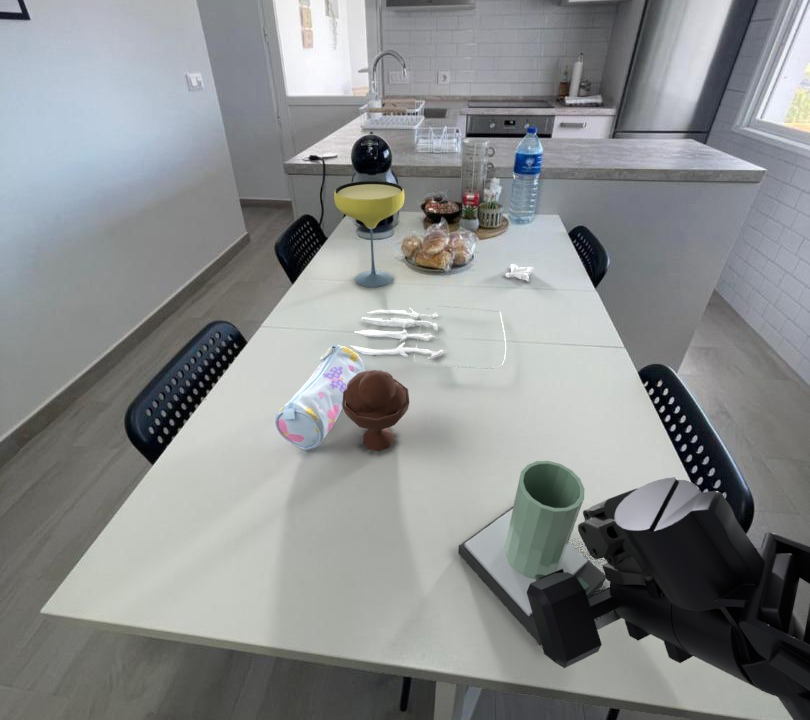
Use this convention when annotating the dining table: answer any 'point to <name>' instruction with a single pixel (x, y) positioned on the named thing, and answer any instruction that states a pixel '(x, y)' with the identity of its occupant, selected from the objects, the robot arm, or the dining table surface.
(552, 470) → the tumbler
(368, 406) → the ice cream bowl
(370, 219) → the cocktail glass
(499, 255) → the dining table surface
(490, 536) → the scale
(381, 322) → the knife set
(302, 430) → the pencil case
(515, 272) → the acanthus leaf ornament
